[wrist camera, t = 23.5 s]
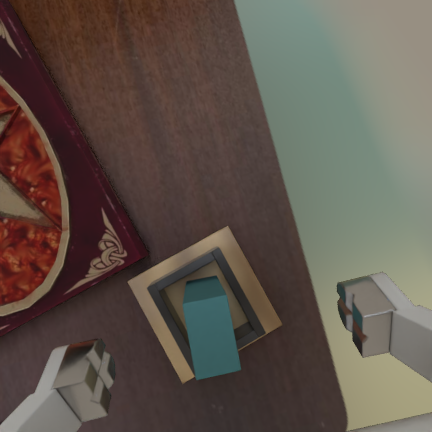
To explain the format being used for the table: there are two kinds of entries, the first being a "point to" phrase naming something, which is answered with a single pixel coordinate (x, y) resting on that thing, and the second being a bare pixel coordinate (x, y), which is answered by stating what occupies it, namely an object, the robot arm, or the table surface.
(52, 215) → the book
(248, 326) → the beige square frame
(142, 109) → the table surface
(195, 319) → the teal rectangular block
